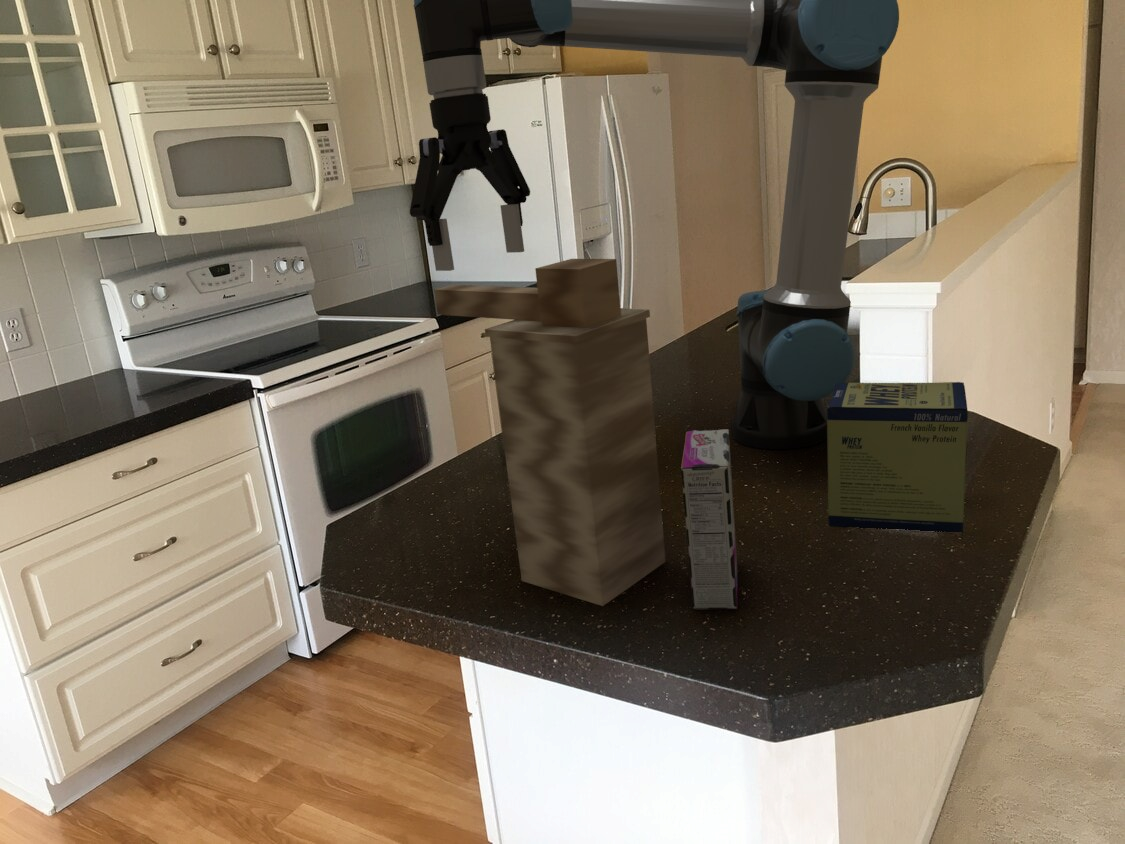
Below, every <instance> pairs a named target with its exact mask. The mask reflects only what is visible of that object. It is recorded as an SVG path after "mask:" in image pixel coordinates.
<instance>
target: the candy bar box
mask: <svg viewBox="0 0 1125 844" xmlns="http://www.w3.org/2000/svg"><path fill="white" fill-rule="evenodd" d="M684 438H685V439H684V446H683V452H682V459H681V467H680V469H681V470H680V473H681V481H682V494H683V497H682V498H683V506H684V517H685V528H686V539H687V549H688V551H687V553H688V562H689V563H688V564H689V576H690V589H691V600H692V602H691V603H692V609H694V610H699V611H707V610H713V609H714V610H737V609H738V558H737V556H738V555H737V541H736V540H737V539H736V528H735V527H736V526H735V513H734V512H735V510H734V496H733V480H732V463H731V462H732V461H731V447H730V430H729V429H725V428H724V429H704V430H703V429H702V430H699V429H698V430H697V429H694V430H688V431H686V432H685V436H684Z"/></svg>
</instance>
